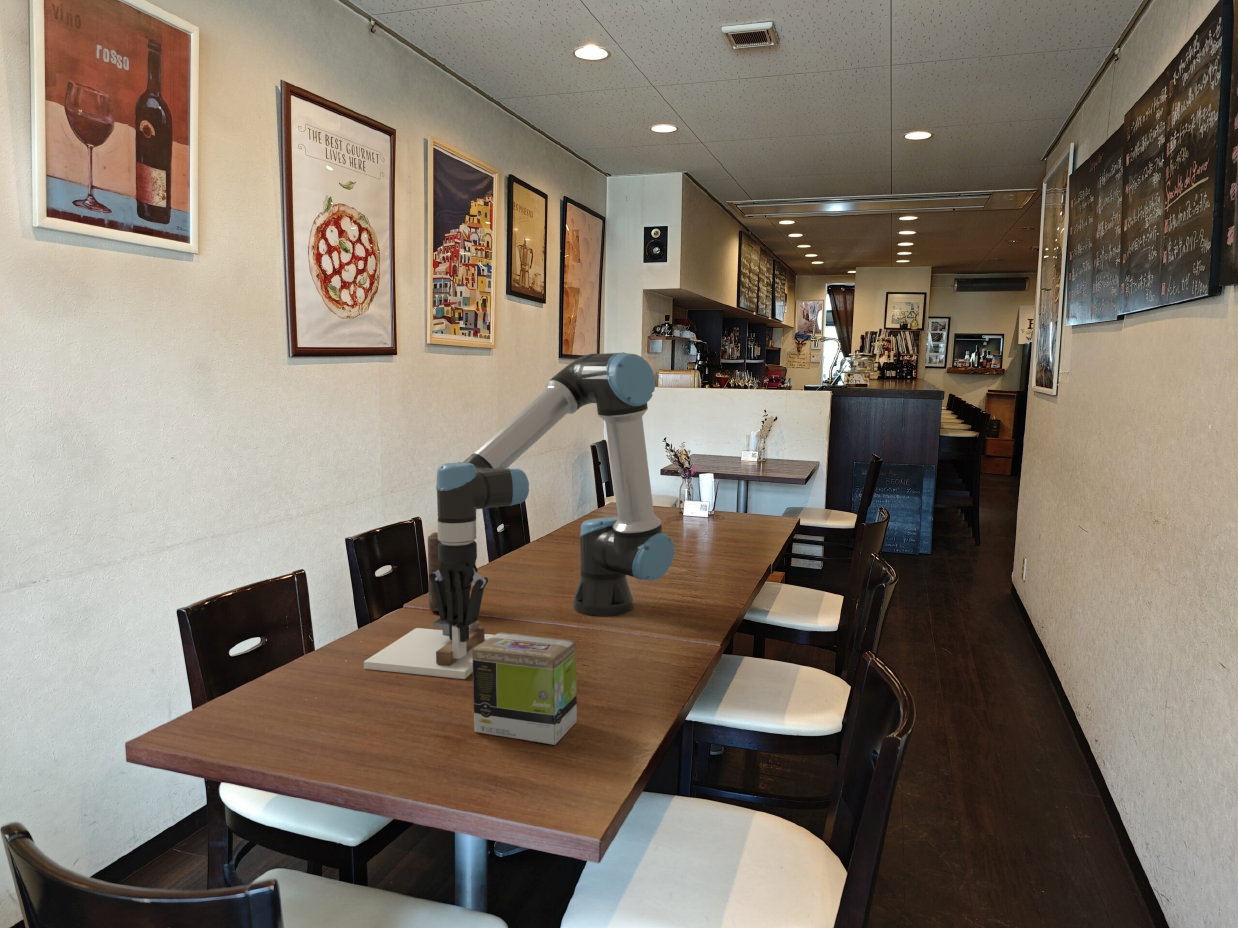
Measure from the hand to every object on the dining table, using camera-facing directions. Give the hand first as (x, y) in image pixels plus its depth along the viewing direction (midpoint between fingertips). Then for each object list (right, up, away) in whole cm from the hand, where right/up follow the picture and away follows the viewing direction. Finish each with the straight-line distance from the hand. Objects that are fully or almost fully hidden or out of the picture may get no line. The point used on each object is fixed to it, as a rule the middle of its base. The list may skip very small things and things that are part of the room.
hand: (459, 656), depth 160 cm
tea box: (+16, -6, -26) cm, 31 cm away
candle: (-12, +2, +40) cm, 41 cm away
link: (-1, 0, +7) cm, 7 cm away
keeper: (-6, 0, +15) cm, 16 cm away
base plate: (-6, -2, +8) cm, 11 cm away
